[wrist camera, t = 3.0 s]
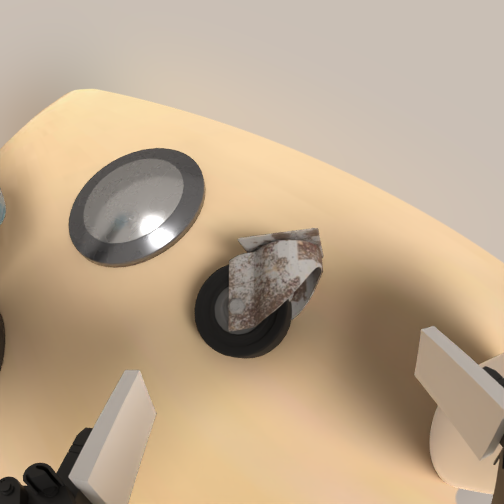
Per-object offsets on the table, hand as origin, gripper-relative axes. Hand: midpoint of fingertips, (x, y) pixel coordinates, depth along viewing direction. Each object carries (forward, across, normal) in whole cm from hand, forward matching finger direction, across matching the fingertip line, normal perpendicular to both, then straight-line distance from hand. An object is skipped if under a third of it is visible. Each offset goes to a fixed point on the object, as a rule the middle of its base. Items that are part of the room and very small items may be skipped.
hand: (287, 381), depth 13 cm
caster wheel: (+16, -1, -4) cm, 16 cm away
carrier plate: (+27, -15, +8) cm, 32 cm away
